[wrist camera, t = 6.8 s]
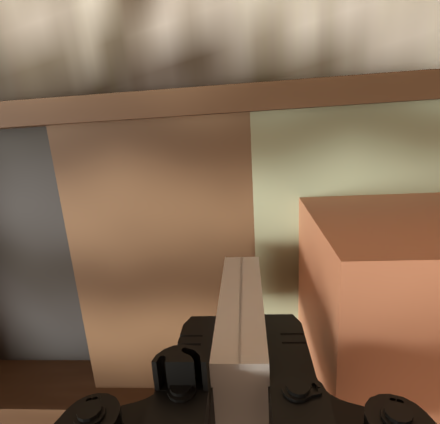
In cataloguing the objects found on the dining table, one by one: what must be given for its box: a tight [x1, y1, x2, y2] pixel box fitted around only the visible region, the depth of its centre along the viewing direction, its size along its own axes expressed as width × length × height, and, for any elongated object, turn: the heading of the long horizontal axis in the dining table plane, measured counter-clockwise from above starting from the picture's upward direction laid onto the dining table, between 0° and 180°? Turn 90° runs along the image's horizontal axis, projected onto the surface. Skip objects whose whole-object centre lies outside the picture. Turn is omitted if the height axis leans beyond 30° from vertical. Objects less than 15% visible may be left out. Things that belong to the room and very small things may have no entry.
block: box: [298, 192, 440, 424], centre depth 12 cm, size 7×7×7 cm
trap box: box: [0, 69, 440, 424], centre depth 16 cm, size 16×42×4 cm, turn 93°
